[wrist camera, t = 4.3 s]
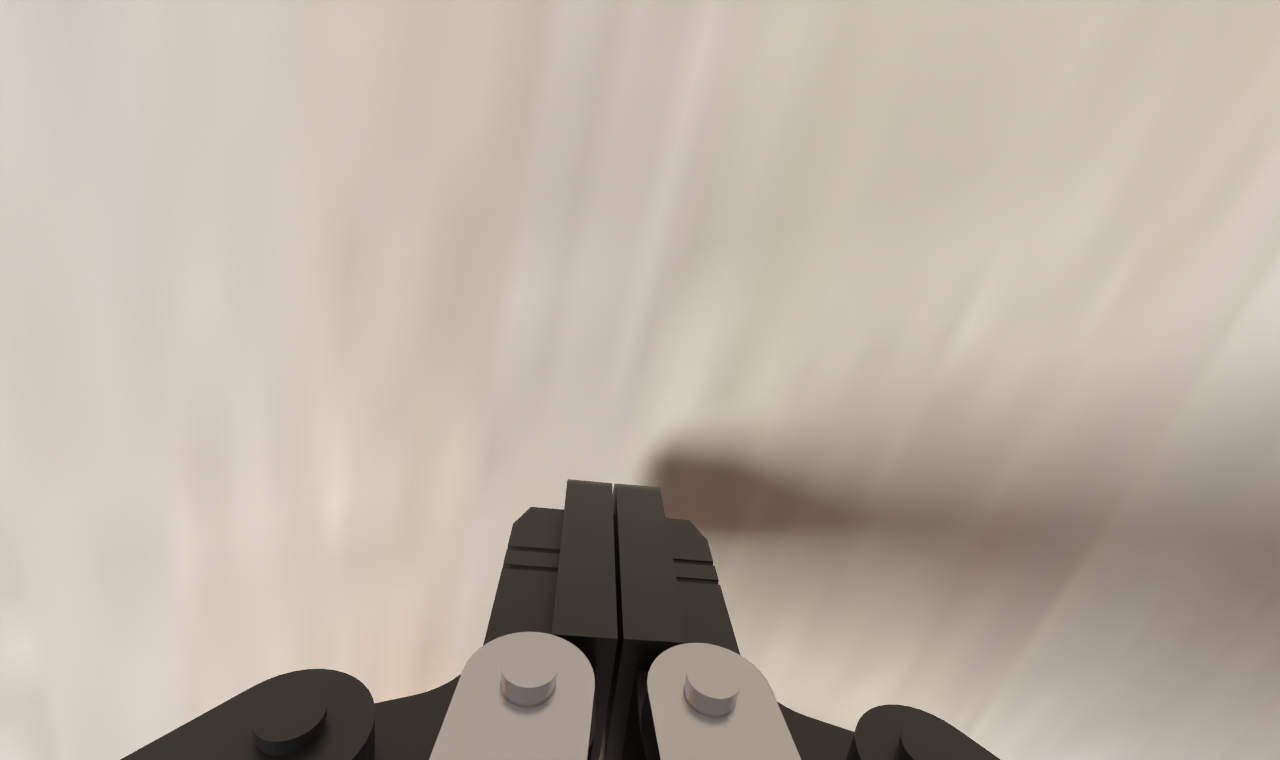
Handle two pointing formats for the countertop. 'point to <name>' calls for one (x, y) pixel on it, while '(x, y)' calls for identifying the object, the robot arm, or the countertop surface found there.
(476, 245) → the countertop surface
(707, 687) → the robot arm
